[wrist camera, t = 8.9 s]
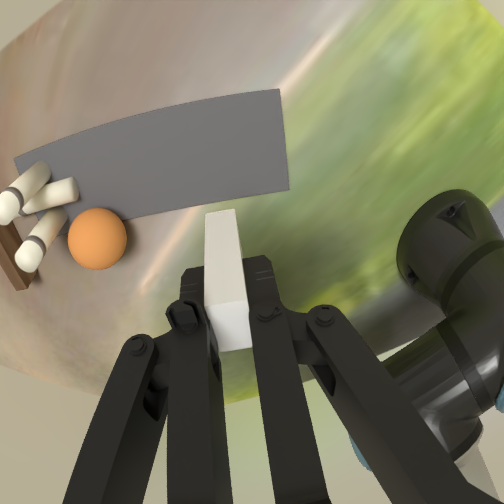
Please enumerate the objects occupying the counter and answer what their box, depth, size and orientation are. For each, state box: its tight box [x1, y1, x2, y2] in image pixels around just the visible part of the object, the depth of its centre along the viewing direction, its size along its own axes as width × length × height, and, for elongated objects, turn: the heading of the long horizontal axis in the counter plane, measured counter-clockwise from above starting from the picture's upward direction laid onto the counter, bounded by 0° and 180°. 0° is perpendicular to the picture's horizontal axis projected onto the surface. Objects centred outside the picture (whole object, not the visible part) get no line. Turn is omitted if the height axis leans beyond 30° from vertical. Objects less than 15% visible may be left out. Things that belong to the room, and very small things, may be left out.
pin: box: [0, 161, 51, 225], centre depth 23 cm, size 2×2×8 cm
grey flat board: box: [14, 89, 289, 236], centre depth 28 cm, size 27×10×1 cm, turn 97°
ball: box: [68, 208, 127, 270], centre depth 28 cm, size 6×6×6 cm
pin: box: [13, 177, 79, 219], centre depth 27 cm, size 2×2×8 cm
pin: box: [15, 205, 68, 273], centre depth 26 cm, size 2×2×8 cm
